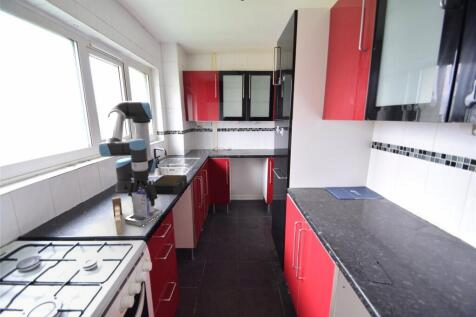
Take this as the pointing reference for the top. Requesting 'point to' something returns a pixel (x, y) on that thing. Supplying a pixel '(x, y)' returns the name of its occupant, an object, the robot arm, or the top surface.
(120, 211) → the door edge board
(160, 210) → the index tray
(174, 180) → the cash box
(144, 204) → the ink cartridge box
